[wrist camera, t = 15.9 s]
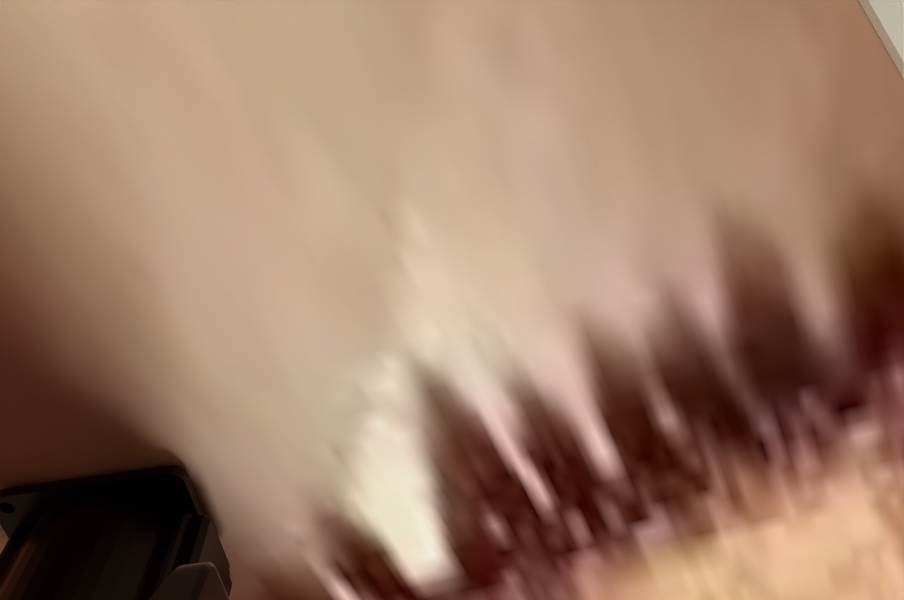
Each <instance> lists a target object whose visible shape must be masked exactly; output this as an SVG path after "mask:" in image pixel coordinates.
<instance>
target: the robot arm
mask: <svg viewBox="0 0 904 600" xmlns="http://www.w3.org/2000/svg"><path fill="white" fill-rule="evenodd" d="M168 480H174V481H176V482H170V481H168ZM9 503H10V504H9ZM11 504H12V505H11ZM0 524H1V526H2V527H3V529H4V531H5V532H6V534H7V536H8V537H9V540H8V542H7V544H6V545H5V547H4V549H3V551H2V552H1V554H0V600H229V598H228V597H229V595H230V591H231V587H232V582H231V579H230V577H229V575H228V571H229V562H228V560H227V557H226V555H225V552H224V550H223V547H222V545H221V542H220V540H219V537H218V535H217V532H216V530H215V527H214V525H213V522H212V520H211V519H210V518H209V517H208V516H207V515H204V513H203V510H202V508H201V505H200V503H199V500H198V498H197V495H196V493H195V490H194V488H193V485H192V483H191V480H190V478H189V475H188V474H187V472H186V471H185V470H184V469H182V468H180V467H177V466H164V467H157V468H150V469H143V470H135V471H128V472H121V473H114V474H107V475H100V476H92V477H85V478H78V479H71V480H64V481H56V482H49V483H42V484H35V485H28V486H20V487H13V488H6V489H3V490H0Z"/></svg>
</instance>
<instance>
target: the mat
mask: <svg viewBox="0 0 904 600" xmlns="http://www.w3.org/2000/svg"><path fill="white" fill-rule="evenodd" d="M859 2H860V4H861V5H862V7H863V9H864V11H865V12H866V14H867V16H868V18H869V19H870V21H871V23H872V24H873V26H874V28H875V30H876V31H877V33H878V35H879V37H880V38H881V40H882V42H883V44H884V45H885V47H886V49H887V51H888V52H889V54H890V56H891V58H892V59H893V61H894V63H895V65H896V66H897V68H898V70H899V71H900V73H901V75H902V77H903V78H904V0H859Z"/></svg>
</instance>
